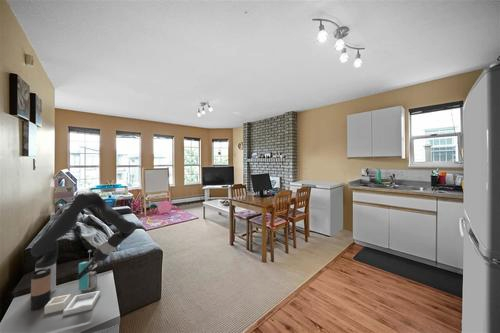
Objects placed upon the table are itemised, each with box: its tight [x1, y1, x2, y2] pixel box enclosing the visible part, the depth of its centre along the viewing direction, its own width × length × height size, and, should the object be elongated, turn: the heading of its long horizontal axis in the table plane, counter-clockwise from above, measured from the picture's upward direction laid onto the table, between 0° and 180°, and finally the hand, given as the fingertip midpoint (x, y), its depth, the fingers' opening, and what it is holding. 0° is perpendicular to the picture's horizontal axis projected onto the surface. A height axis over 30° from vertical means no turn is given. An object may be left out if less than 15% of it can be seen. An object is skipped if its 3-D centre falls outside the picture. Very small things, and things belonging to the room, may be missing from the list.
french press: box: [81, 249, 98, 292], centre depth 126 cm, size 10×12×25 cm
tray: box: [62, 290, 101, 317], centre depth 109 cm, size 12×14×4 cm
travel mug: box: [30, 268, 51, 311], centre depth 109 cm, size 8×8×20 cm
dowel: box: [78, 261, 89, 291], centre depth 110 cm, size 4×4×14 cm
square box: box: [44, 293, 72, 315], centre depth 107 cm, size 8×8×5 cm
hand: (79, 276), depth 109 cm, fingers closed on dowel, 4 cm apart
